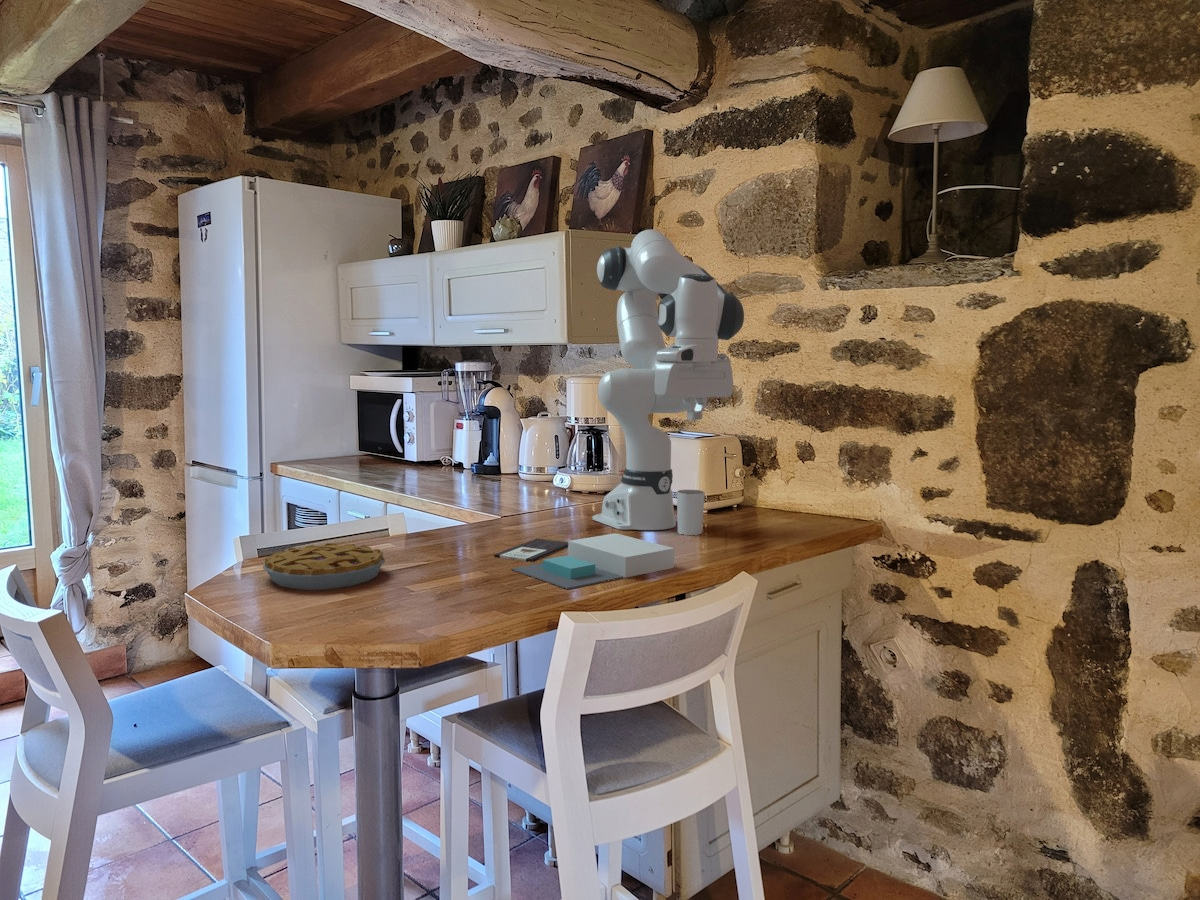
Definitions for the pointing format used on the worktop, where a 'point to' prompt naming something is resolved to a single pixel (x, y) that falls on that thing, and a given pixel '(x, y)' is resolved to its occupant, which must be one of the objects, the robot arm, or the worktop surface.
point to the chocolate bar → (532, 550)
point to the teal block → (569, 567)
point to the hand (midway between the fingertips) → (694, 419)
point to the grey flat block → (622, 554)
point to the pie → (324, 566)
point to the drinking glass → (690, 511)
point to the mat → (562, 581)
